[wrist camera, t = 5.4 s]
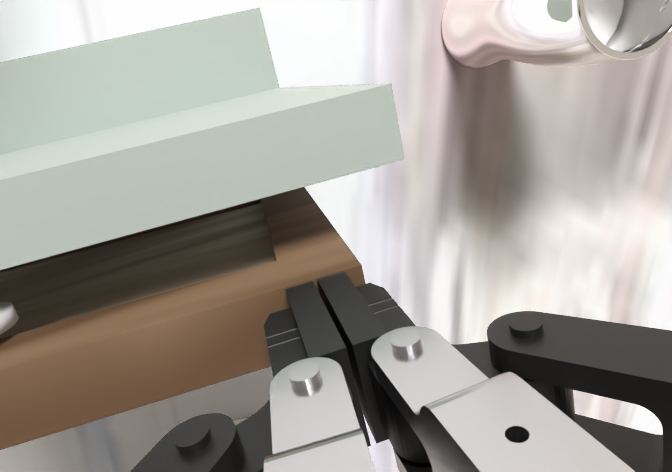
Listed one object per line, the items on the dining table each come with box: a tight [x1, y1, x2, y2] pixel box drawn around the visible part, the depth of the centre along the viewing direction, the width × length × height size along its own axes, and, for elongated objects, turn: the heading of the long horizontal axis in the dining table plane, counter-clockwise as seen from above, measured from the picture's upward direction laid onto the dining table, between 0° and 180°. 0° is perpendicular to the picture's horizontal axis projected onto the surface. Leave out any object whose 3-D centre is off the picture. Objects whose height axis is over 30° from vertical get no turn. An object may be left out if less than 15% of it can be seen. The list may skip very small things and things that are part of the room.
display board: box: [0, 8, 404, 335], centre depth 22 cm, size 12×24×24 cm, turn 103°
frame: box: [0, 187, 365, 450], centre depth 18 cm, size 2×20×14 cm, turn 103°
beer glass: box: [441, 0, 672, 68], centre depth 30 cm, size 7×7×15 cm
